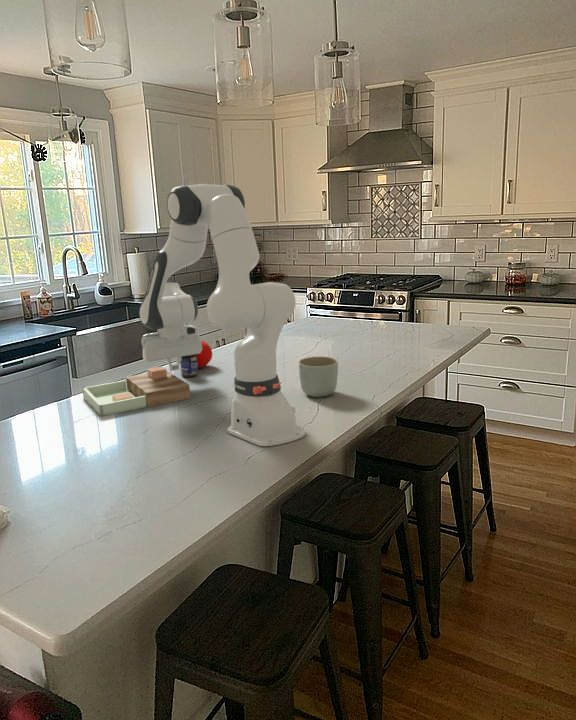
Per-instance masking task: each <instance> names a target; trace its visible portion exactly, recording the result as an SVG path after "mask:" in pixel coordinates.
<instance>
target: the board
mask: <svg viewBox="0 0 576 720" xmlns="http://www.w3.org/2000/svg"><path fill="white" fill-rule="evenodd" d="M166 371H167V377H162V378H157V379H152V378H150V377H149V376H148V373H147V372H146V373H141V374H135V375H130V376H126V377H125V381H126V389H127V390H129V391H130V393H132V394H133V395H134V396H136V397H140V396H145V398H146V407H148V408H149V407H153V406H158V405H164V404H167V403H172V402H177V401H183V400H187V399H191V390H190V384H189V383H188V382H186V381H184V380H183V379H181V378H179V377H177V376H176V375H174V374H173V373H171V372H169V371H168V370H166Z"/></svg>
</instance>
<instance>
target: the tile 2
mask: <svg viewBox="0 0 576 720" xmlns="http://www.w3.org/2000/svg"><path fill="white" fill-rule="evenodd" d="M146 371H147V372H146V373H148V376H149V377H150V378H152V379H157V378H162V377H167V371H168V370H167V369H166V368H165V367H163V366H156V367H152V368H151V367H150V368H146Z"/></svg>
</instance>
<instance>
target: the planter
mask: <svg viewBox="0 0 576 720" xmlns="http://www.w3.org/2000/svg"><path fill="white" fill-rule="evenodd" d="M298 372H299V373H298V374H299V380H300V386H301V387H300V388H301V389H302V391H303V392H304V394H306V395H307V396H309V397H311V396H312V398H323V397H324V396H326V397H329V396H330V395H332V394H333V393H334V392H335V391H336V389H337V385H338V374H339V360H338V359H337V358H335V357H331V356H310V357H304V358H302V359H300V360H299V361H298ZM328 395H329V396H328Z"/></svg>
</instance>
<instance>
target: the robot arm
mask: <svg viewBox="0 0 576 720" xmlns="http://www.w3.org/2000/svg"><path fill="white" fill-rule="evenodd" d="M166 205H167V211H168V214H169V217H170V218H171V220H170V225H169V233H168V237H167V241H166V242H165V244H164V246H163V247H162V249H160V250H159V251H158V252H157V253H156V255H155V258H154V260H153V263H152V268H151V270H150V274H149V278H148V282H147V286H146V291H145V293H144V297H143V300H142V302H141V304H140V306H139V320H140V322H141V324H142V325H144V326H145V327H146V328H147V329H149V330H151V331H156V332H151V333H146V334H144V335H143V336H142V337H141V338H140V339H141V346H142V358H143V360H144V361H145V362H147V363H150V362H151V363H152V362H156V361H162V360H165V362H166V364H167V365H168V367H169V368H168V369H169V371H170V372H172V371H178V370H180V362H181V360H182V357H181V356H187V355H193V354H199V353H201V351H202V343H201V341H202V338H201V337H200V334H199V328H198V327H197V326H194V325H192V324H191V323H193V322H194V321H195V320H196V319H197V317H198V315H199V305H198V302H197V300H196V299H195V298H194V297H193V296H192V295H190V294H187V293H185V292H184V291H183V290H182V289H181V286H180V284H179V283H178V282H175V281H173V282H172V281H170V282H168V280H169V278H170V277H171V276H172V275H174V274H175V273H176V272H178V271H180V270H181V269H184V268H186V267H188V266H191V265H193V264H195V263H196V262H197V261H199V260H200V259H201V258H202V257H203V255H204V253H205V250H206V247H207V239H208V229H209V234H210V238H211V241H212V245H213V249H214V252H215V253H214V254H215V257H216V261H217V267H218V279H217V283H216V287H215V289H214V291H213V292H212V293H211V294H210V296H209V297H208V300H207V303H206V315H207V317H208V320H209V323H211V325H212V326H213V327H215V329H218V330H220V331H221V330H223V331H225V330H226V331H237V330H238V331H239V330H243V329H248V330H247V332H246V334H245V336H244V338H243V339H242V340H241V341H239V343H238V344H237V345H236V346H235V349H234V353H233V354H234V355H233V356H234V372H235V376H234V378H233V379H234V382H233V386H234V391H235V393H234V394H235V395H234V397H233V398H232V401H231V405H230V406H231V407H230V408H231V409H230V410H231V411H230V412H231V414H230V426H228V427H227V434H229V435H233V436H234V437H237V438H239V439H242V440H245V441H247V442H249V443H251V444H254V445H256V446H259V447H270V446H271V447H273V446H279V445H282V444H287V443H290V442H294V441H297V440H298V439H301V438H303V437H304V436H305V435H306V431H305V429H303V428H302V427H301V425H299V424H298V423H297V421H296V415H295V414H296V408H295V405H290V403H289V402H288V399H287V397H285V396H284V395H283V393H282V390H281V389H282V386H281V385H282V383H281V382H280V378H279V375H278V374H277V345H278V342H279V341H278V340H279V338H280V334H281V333H282V330H283V327H284V326H285V324H286V322H287V321H288V320H289V318H290V317H291V316H292V315H293V313H294V311H295V309H296V297H295V294H294V291H293V290H292V288H291V287H290V286H289V285H287V284H285V283H281V282H271V281H268V282H262V283H261V282H259V283H254V284H252V283H251V279H250V274H251V271H252V270H253V269H255V267H257V265H258V263H259V261H260V252H259V248H258V245H257V241H256V239H255V234H254V231H253V228H252V223H251V222H250V219H249V216H248V214H247V211H246V209H245V207H246V206H245V205H246V202H245V197H244V195H243V192H242V191H241V189H240V188H239V187H237V186H234V185H231V184H223V185H221V184H212V183H211V184H210V183H209V184H208V183H198V184H191V185H190V184H188V185H186V184H183V185H178V186H175V187H174V188H171V190H170V191H169V193H168V195H167V201H166ZM174 358H175V360H176V361H175V363H172V359H174Z"/></svg>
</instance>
